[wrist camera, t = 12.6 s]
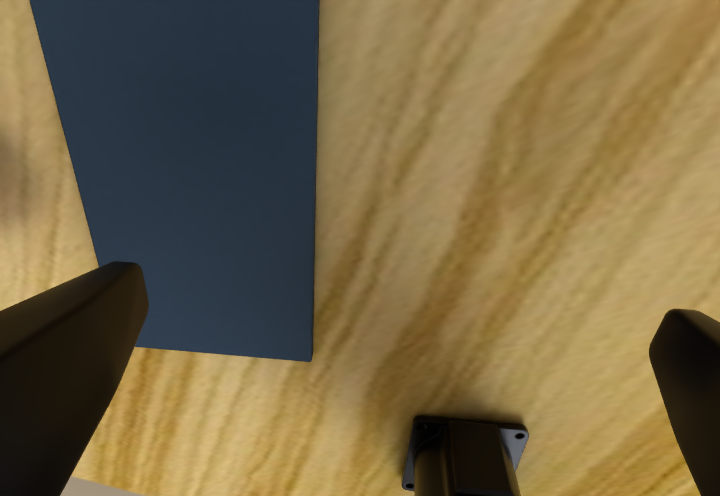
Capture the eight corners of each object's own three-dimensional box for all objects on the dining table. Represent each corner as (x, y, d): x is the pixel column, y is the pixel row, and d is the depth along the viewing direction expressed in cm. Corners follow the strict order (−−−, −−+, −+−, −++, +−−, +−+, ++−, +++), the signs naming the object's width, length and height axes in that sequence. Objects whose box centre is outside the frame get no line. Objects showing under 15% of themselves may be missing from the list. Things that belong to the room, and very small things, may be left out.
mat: (312, 354, 25) (311, 362, 25) (124, 338, 26) (119, 345, 25) (320, -46, 16) (318, -46, 15) (22, -69, 16) (10, -69, 16)
